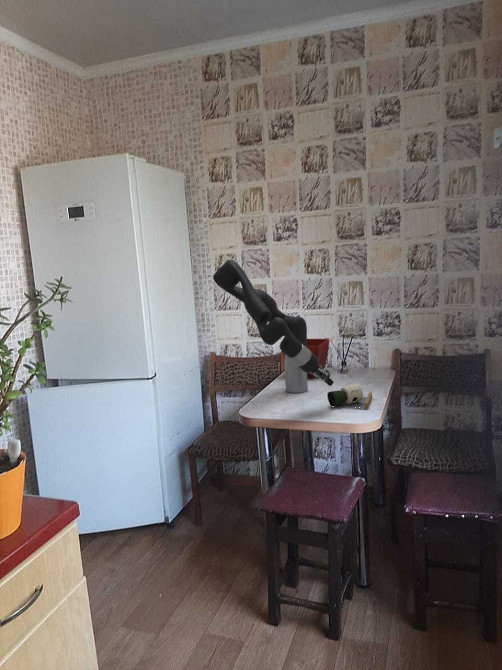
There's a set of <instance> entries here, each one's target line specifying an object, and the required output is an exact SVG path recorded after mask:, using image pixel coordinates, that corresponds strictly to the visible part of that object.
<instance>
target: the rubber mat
mask: <svg viewBox="0 0 502 670" xmlns="http://www.w3.org/2000/svg"><path fill="white" fill-rule="evenodd" d="M372 400H373V392H371V391H370V392H368V394H367V396H365V397H364V396H363V399H362V400H361V401H358V402H355V403H351V404H346V403H345V402H344V403H343V404H341V405H339V406H336V407H335V409H336V408H355V407H356V408H359V407H360V408H359V409H358V410H369V408H370V405H371V402H372ZM368 407H369V408H368ZM362 408H363V409H362Z"/></svg>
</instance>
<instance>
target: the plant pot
mask: <svg viewBox="0 0 502 670" xmlns="http://www.w3.org/2000/svg"><path fill="white" fill-rule="evenodd" d="M306 347H307V348H308V349H309V350H310V351H311V352H312V353H313V354H314V355H315V356H316V357H317V358H318V365H321V366H322V368H323V369H324V370H325V367H326V363H327V360H328V355H329V347H330V339H329V338H307V346H306ZM282 354H283V358H284V359H285V353H284V352H282ZM316 378H317V377H315V376H314V375H312V374H311V373H309V372H307V379H316Z"/></svg>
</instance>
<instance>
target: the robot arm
mask: <svg viewBox="0 0 502 670" xmlns="http://www.w3.org/2000/svg"><path fill="white" fill-rule="evenodd" d="M212 278H213V281H214V282H215V284H216V285H217V286H219V288H221V289H222V290H223V291H224V292H226V293H228V294H229V295H231V296H232V297H234V298H236V299H237V300H239V301H241V303H242V304H244V308H245V310H246V312H247V313H248V315H249V316H250V317H251V319H252V320H253V322H254V323H255V325H256V328H257V330H258V333H259V335H260V338H261V340H262V341H263V342H264V343H265V344H266V345H268V346H273V345H275V344H276V343H278V341H279V340H281V338H282V340H281V341H280V342H279V349H280V351H281V352H282V353H283V352H284V353H285V358H284V362H285V370H284V384H285V392H286V393H292V394H296V393H298V394H299V393H305V392H308V390H309V386H308V385H309V384H308V378H307V372H309V373H311V374H312V375H314V376H315V377H316V378H317V379H319V380H321V381H323V383H325V384H326V385H327V386H330V387H332V385H333V384H334V383H335V382H334V380H333V379H332V378H330V377H331V374H330V371H329V370H328V369H325V368H324V369H323V368H322V366H321V365H318V358H317V357H316V356H315V355H314V354H313V353H312V352H311V351H310V350H309V349H308V348H307V347H306V346H307V339H308V327H307V322H306V320H305V318H303V317H301V316H291V315H287V314H285V313H284V312H282V311H281V310H280V309H279V308H278V306H277V305H278V304H277V302H276V300H275V299H274V298H273V296H271V295H270V294H269V293H267V292H266V291H265V290H263V289H259V288H255V287H254V286H253V284H252V282H251V280H250V279H249V277H248V275H247V273H246V272H245V271H244V269H243V268H242V267H241V265H240V264H239V263H238V262H237V261H235V260H233V259H227V260H226V261H225V262H224V263H223V264H222V265H221V266H220V267H219V269H217V270H216V271H215V272H214V274H213V276H212ZM239 283H240V284H241V287H240V286H237V285H238V284H239Z"/></svg>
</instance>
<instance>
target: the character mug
mask: <svg viewBox="0 0 502 670" xmlns="http://www.w3.org/2000/svg"><path fill="white" fill-rule="evenodd" d="M326 395H327V400H328V404H329V406H330V407H331V408H333V407H332V406H334V408H336V407H337V406H339V405H341V404H343V403H344V402H345V403H346V404H351V403H355V402H358V401H361V400H362V399H363V397H364V392H363V389H362V387H361V385H360V384H359V383H352V384H349V385H345V386H342V387H341V388H340V389H339V390H338V389H337V390H333V391H328V392H327V393H326Z"/></svg>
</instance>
